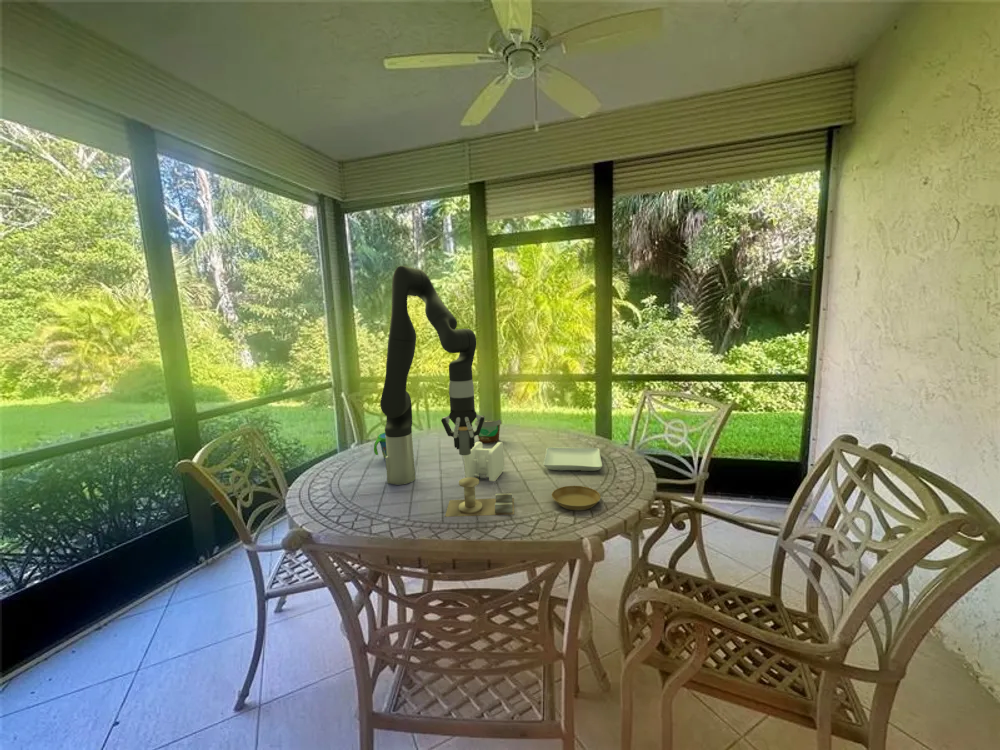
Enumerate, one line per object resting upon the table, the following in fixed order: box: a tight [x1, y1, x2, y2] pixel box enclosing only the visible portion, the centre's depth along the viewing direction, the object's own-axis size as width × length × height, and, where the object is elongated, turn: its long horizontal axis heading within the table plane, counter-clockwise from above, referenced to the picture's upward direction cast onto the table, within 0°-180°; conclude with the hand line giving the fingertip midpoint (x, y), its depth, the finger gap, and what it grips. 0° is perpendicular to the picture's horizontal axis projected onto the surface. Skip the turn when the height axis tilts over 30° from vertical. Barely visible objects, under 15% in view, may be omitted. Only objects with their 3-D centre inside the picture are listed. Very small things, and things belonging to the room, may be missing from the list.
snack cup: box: [373, 432, 387, 460], centre depth 181 cm, size 16×10×10 cm
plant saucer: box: [551, 485, 601, 511], centre depth 133 cm, size 15×15×3 cm
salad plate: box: [542, 446, 603, 472], centre depth 166 cm, size 21×21×3 cm
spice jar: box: [458, 426, 471, 456], centre depth 135 cm, size 4×4×9 cm
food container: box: [474, 419, 502, 444], centre depth 197 cm, size 12×6×10 cm, turn 81°
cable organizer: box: [462, 441, 505, 482], centre depth 156 cm, size 15×11×12 cm
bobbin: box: [458, 477, 482, 513], centre depth 129 cm, size 7×7×8 cm
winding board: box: [444, 492, 515, 518], centre depth 130 cm, size 20×11×4 cm, turn 89°
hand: (464, 448), depth 136 cm, fingers closed on spice jar, 3 cm apart
